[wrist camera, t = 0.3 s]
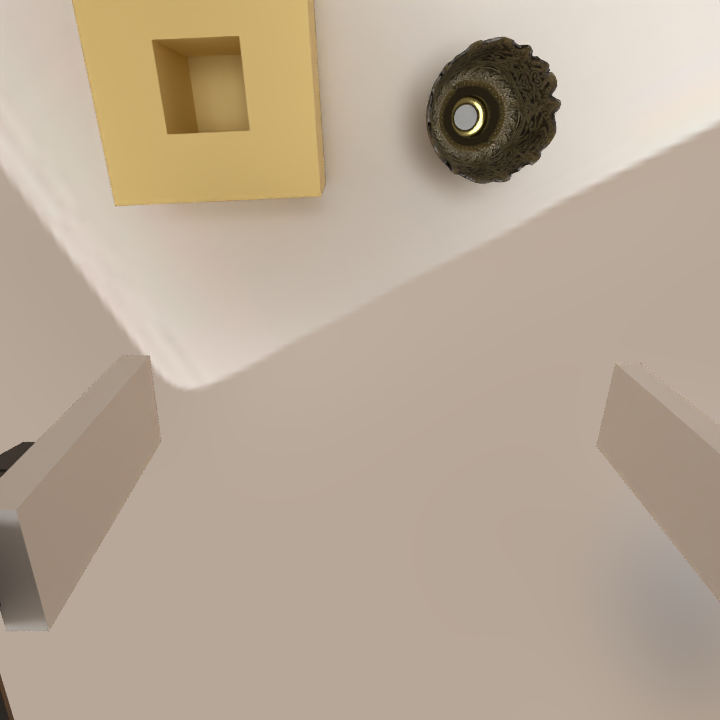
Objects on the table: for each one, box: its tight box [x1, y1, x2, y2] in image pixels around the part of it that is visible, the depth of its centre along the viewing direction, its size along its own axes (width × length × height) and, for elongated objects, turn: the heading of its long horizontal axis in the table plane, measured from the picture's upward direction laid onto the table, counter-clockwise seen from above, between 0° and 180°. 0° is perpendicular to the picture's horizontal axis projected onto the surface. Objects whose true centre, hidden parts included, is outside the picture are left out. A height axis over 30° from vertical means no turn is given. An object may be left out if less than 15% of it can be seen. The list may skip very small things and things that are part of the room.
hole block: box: [72, 0, 325, 206], centre depth 33 cm, size 12×12×8 cm
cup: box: [426, 37, 561, 184], centre depth 34 cm, size 8×7×8 cm
